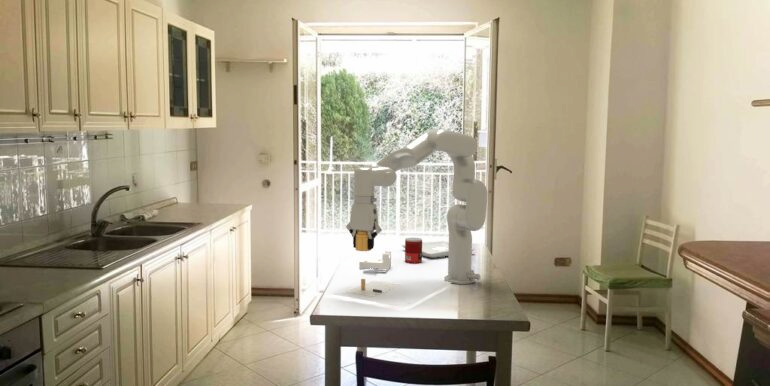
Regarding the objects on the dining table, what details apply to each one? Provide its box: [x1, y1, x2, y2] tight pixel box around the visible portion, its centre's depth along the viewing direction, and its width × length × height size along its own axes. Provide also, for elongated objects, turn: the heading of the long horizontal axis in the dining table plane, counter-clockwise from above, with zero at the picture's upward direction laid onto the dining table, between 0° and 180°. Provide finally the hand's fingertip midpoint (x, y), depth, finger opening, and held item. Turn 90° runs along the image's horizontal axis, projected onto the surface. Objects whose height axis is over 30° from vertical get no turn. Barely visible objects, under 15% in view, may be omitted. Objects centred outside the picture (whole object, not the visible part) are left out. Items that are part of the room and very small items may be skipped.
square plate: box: [401, 240, 475, 259], centre depth 312 cm, size 27×27×4 cm
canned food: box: [404, 237, 423, 265], centre depth 289 cm, size 8×8×11 cm
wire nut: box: [355, 230, 372, 252], centre depth 231 cm, size 6×6×7 cm
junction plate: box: [345, 278, 399, 297], centre depth 235 cm, size 12×20×6 cm, turn 150°
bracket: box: [358, 250, 392, 271], centre depth 276 cm, size 13×7×8 cm, turn 80°
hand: (363, 247), depth 231 cm, fingers closed on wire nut, 5 cm apart
